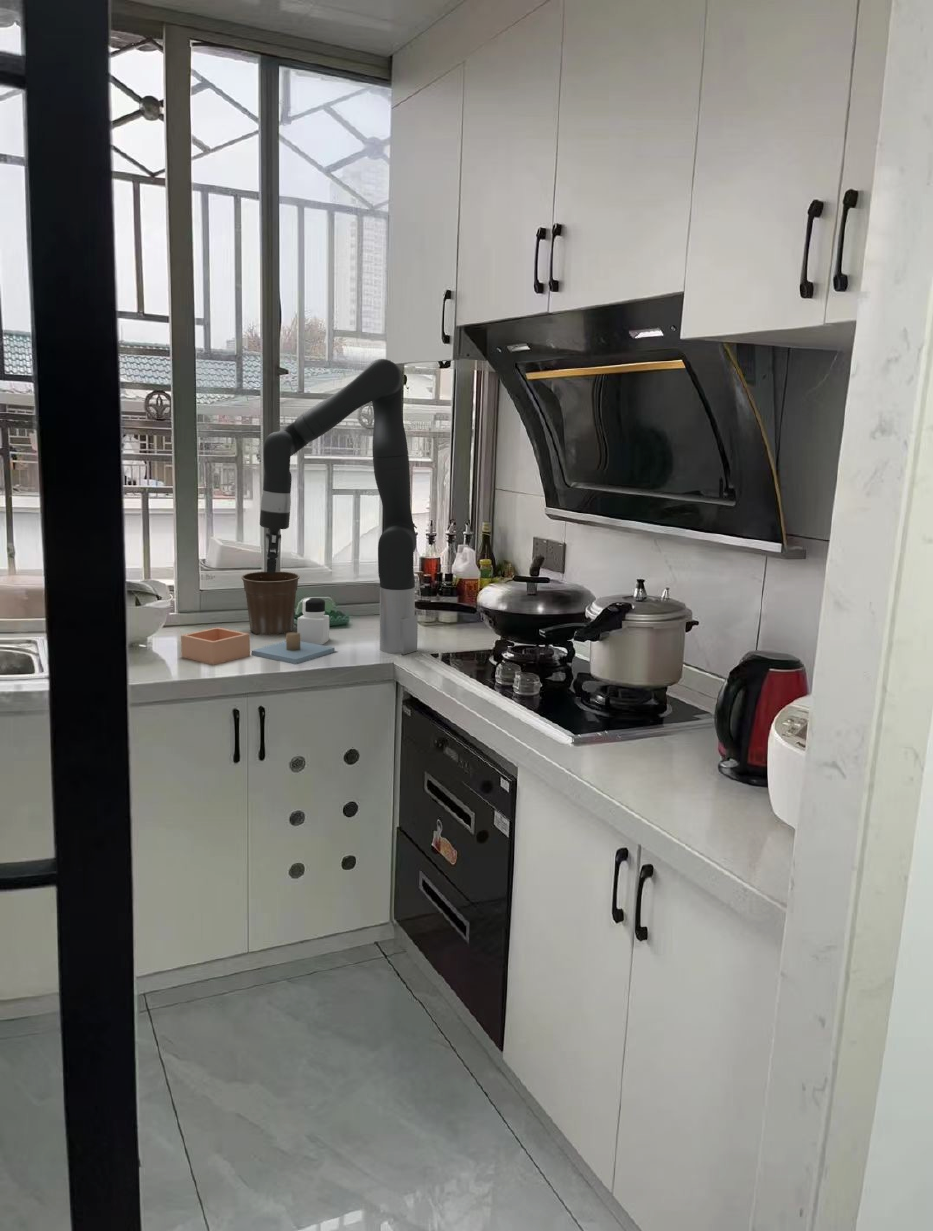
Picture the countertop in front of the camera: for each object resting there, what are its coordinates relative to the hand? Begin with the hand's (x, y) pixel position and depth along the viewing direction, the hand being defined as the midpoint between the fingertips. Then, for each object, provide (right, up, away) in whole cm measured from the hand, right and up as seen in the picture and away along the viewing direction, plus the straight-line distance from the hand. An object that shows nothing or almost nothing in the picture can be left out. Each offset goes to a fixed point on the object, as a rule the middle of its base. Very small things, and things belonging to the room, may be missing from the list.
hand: (270, 570), depth 254 cm
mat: (+7, -22, -2) cm, 23 cm away
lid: (+6, -22, -3) cm, 23 cm away
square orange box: (-13, -23, -7) cm, 27 cm away
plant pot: (-4, -17, +23) cm, 29 cm away
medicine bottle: (+10, -19, +10) cm, 24 cm away
